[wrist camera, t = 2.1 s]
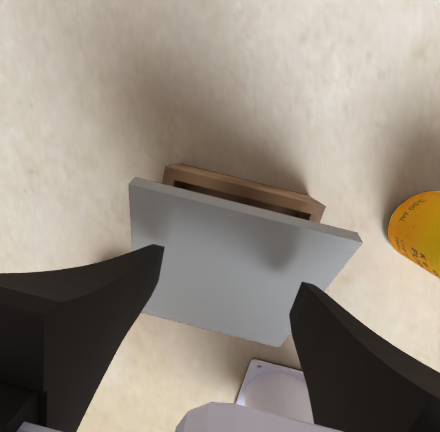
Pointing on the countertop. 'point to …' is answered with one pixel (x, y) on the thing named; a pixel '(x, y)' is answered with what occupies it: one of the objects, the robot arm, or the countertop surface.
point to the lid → (232, 260)
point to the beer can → (418, 230)
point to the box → (243, 192)
